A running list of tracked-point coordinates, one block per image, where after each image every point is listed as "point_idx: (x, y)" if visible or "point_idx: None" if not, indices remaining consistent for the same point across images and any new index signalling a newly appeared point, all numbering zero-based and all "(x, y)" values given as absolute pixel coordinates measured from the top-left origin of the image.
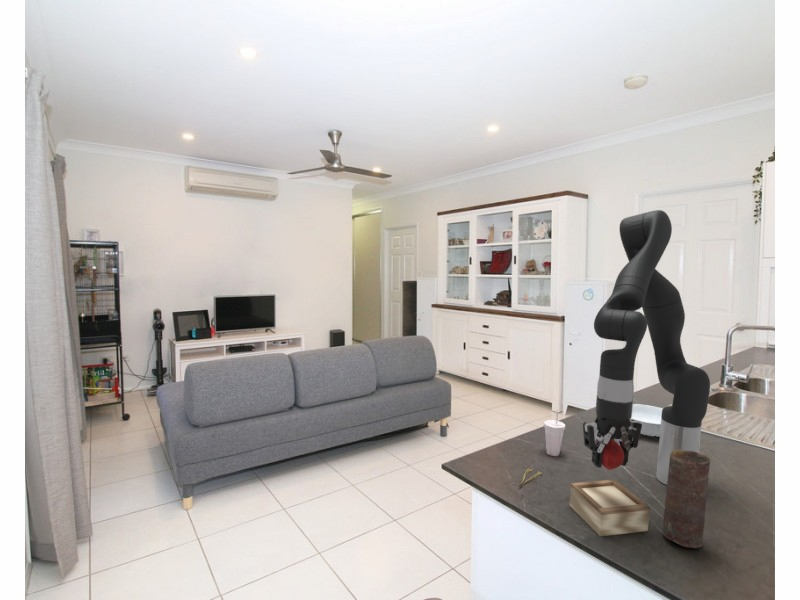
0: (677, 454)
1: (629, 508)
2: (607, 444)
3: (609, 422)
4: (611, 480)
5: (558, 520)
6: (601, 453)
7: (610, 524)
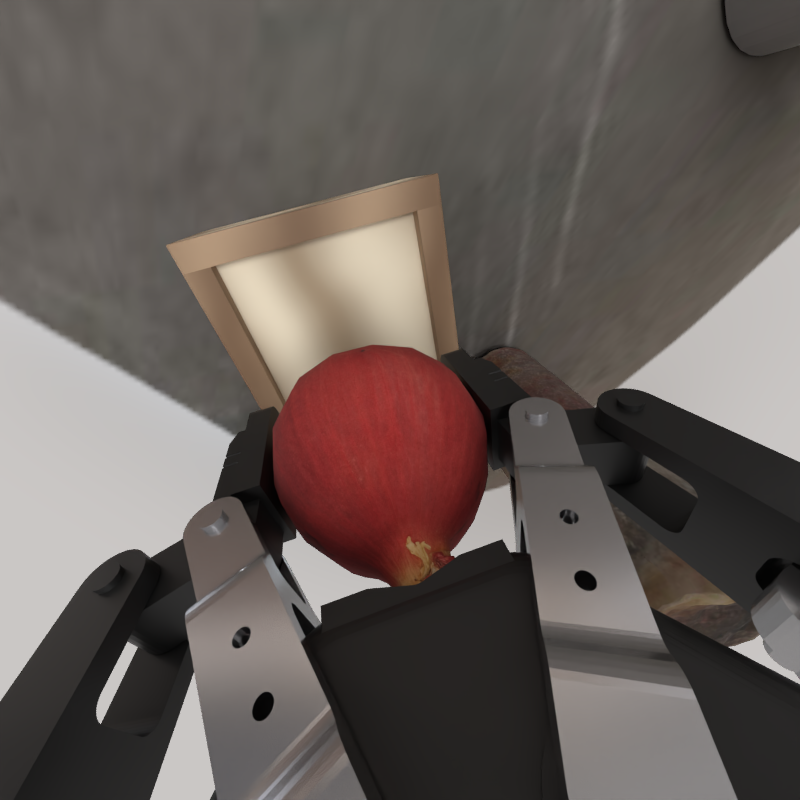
0: (695, 606)
1: None
2: (352, 569)
3: None
4: (417, 189)
5: (153, 344)
6: (285, 540)
7: None
